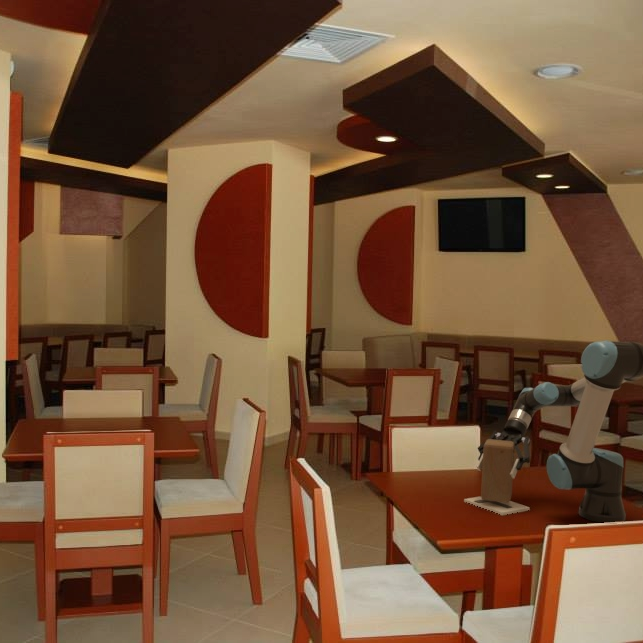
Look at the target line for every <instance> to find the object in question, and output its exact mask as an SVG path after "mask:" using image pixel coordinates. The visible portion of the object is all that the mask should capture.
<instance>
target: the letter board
mask: <svg viewBox="0 0 643 643" xmlns="http://www.w3.org/2000/svg"><path fill="white" fill-rule="evenodd" d="M463 502H464V503H466V502H467V503H466V504H468V503H470V504H469V505H471V504H473V505H472V506H474V505H475V507H477V506H478V507H477V508H479V507H481V508H480V509H482V508H484V509H483V510H485V509H487V510H486V511H488V510H490V511H489V512H491V511H493V512H495V513H494V514H496V513H498V514H497V515H499V514H500V515H499V516H506V515H507V514H508V515H513V514H517V512H518V513H524V512H527V511H528V510H529V511H531V509H530V508H531V507H529V506H526V505H523V504H520V503H519V502H516V501H515V502H514V501H512V500H510V501H509V502H508V503H505V502H497V501H489V500H483V499H482V498H481V495H480V496H475V497H468V498H464V499H463ZM493 512H492V513H493ZM512 513H513V514H512Z"/></svg>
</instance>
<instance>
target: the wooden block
mask: <svg viewBox="0 0 643 643" xmlns="http://www.w3.org/2000/svg"><path fill="white" fill-rule="evenodd" d="M487 439H488V438H487ZM487 439H485V441H486V442H485V441H484V442H485V444H484V447H483V466H482V470H481V486H480V487H481V488H480V496H481V498H482V499H483V500H489V501H497V502H505V503H508V502H509V501H511V499H512V495H513V482H514V481H513V480H514V479H513V478H512V477H511V475H510V472H511V470H512V468H513V466H514V464H515V461H514V460H515V446H514V442H512V441H503V440H493V439H488V440H487Z"/></svg>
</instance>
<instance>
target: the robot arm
mask: <svg viewBox="0 0 643 643" xmlns="http://www.w3.org/2000/svg"><path fill="white" fill-rule="evenodd" d="M580 364H581V366H580V368H581V371H582V373H583V377H582V378H580V379H578V380H577V381H574V382H573V383H571V384H569V385H555V384H554V383H552V382H549V381H546V382H543V383H540V384H538V385H537V386H535V387H534V388H533V387H524V388H523V389H522V391H521V392H520V393H519V394H518V397H517V400H516V402H515V404H514V406H513V409H512V410H511V412H510V415H509V417H508V418H507V421H506V422H505V425H504V427H503V430H502V432H498V431H497V430H494V431H493V432H492V434H491V435H490V436H488V438H486V440H488V439H493V440H503V441H512V442H514V449H515V451H516V453H517V454H516V455H518V456H517V457H518V458H516V459H515V461H514V464H513V468H512V470H511V472H510V475H511V477H512V478H513V480H515V477H516V476H517V473H518V471H521V469H522V467H523V466H524V464H525V463H527V464H529V463H531V456H530V444H531V440H530V437H529V436H528V435H527V436H525V435H526V433H527V431H528V428H529V426H530V423H531V421H532V419H533V417H534V416H535V414H536V412H537V411H539V410H541V409H544V408H546V407H548V408H549V407H576V408H577V407H578V408H577V411H576V414H575V416H574V419H573V422H572V425H571V428H570V430H569V434H568V437H567V439H566V442H563V443H562V444H560V445H559V449H558V451H557V453H553V454H551V455H549V456H548V458H547V461H546V472H547V476H548V479H549V480H550V482H551V484H552V485H553V487H555V488H556V489H559V490H566V491H567V490H568V491H569V490H575V489H576V490H577V489H578V490H579V489H581V490H582V489H585V491H584V492H585V493H584V495H583V496H582V500H581V502H580V503H579V504H580V505H579V508H578V515H579V516H580V517H581V518H583V519H585V520H588V521H591V522H592V521H593V522H597V523H601V522H615V521H624V522H625V521H626V516H627V515H626V511H625V506H624V503H623V500H622V492H623V478H624V477H623V476H624V467H625V466H624V457H623V456H622V454H621V453H620V452H619V453H618V452H616V451H611V450H608V449H603V448H597V447H595V446H596V445H595V444H596V442H597V439H598V436H599V434H600V431H601V428H602V425H603V422H604V419H605V417H606V414H607V412H608V408H609V406H610V404H611V400H612V397H613V394H614V392H615V391H618V390H619V389H621V387H622V384H625V383H627V382H628V383H633V382H636V381H638V380H640V379H642V378H643V343H640V342H636V341H611V340H601V341H594V342H591V343H589V344H588V345H587V346H586V347H585V349H584V350H583V352H582V355H581V359H580ZM486 440H485V441H483V442H482V443H481V444H480V445H479V446H478V447H477V450H478V452H479V456H478V458H477V460H478V462H477V465H476V469H477V471H479V472H482V466H483V447H484V444H485V442H486ZM521 443H523V450H524V451H523V452H524V456H523V454H522V451H521V449H520V447H519V444H521Z"/></svg>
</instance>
